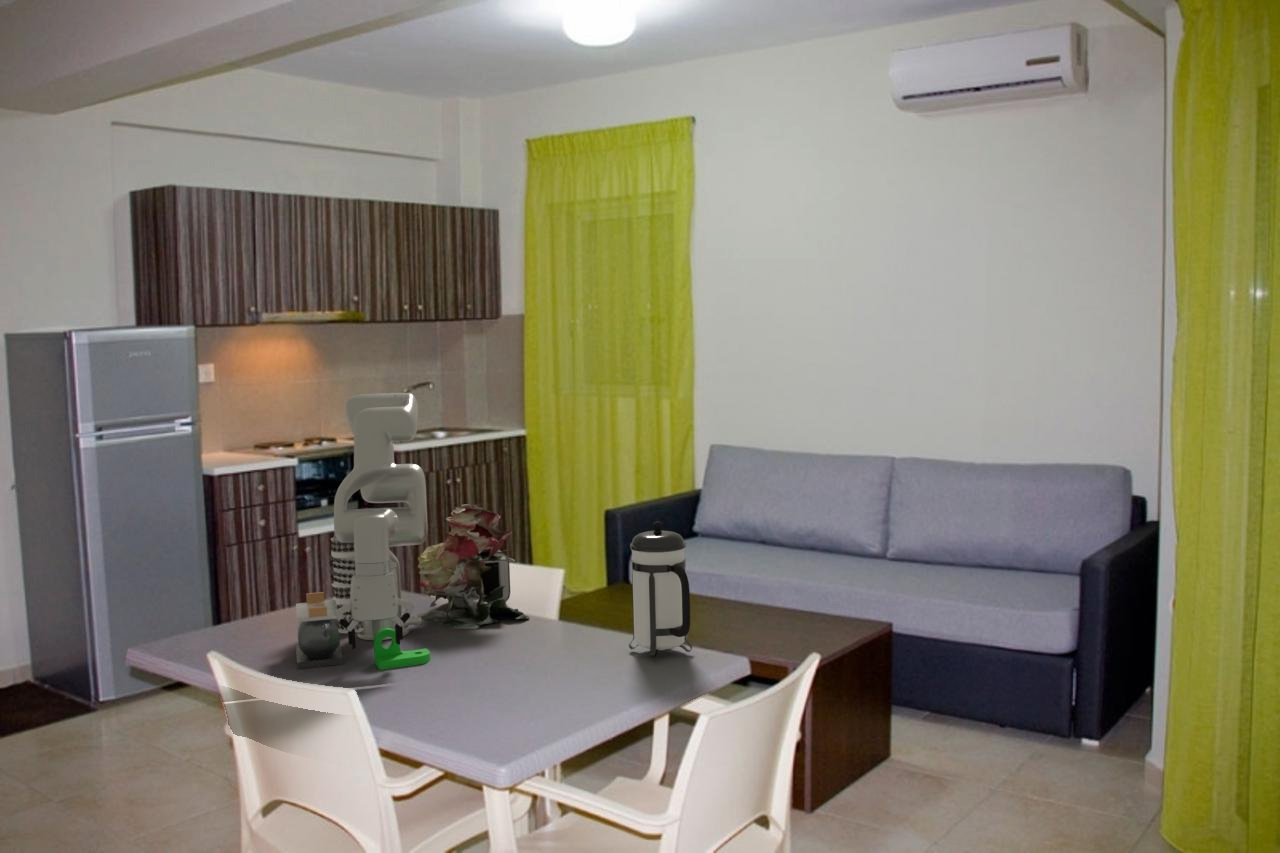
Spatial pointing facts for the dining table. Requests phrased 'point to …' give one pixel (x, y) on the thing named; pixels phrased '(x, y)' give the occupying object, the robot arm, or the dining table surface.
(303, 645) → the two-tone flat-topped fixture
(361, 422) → the robot arm
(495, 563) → the alarm clock
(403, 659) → the mechanical part
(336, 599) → the decorative candle
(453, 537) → the rose bouquet
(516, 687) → the dining table surface
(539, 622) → the dining table surface
